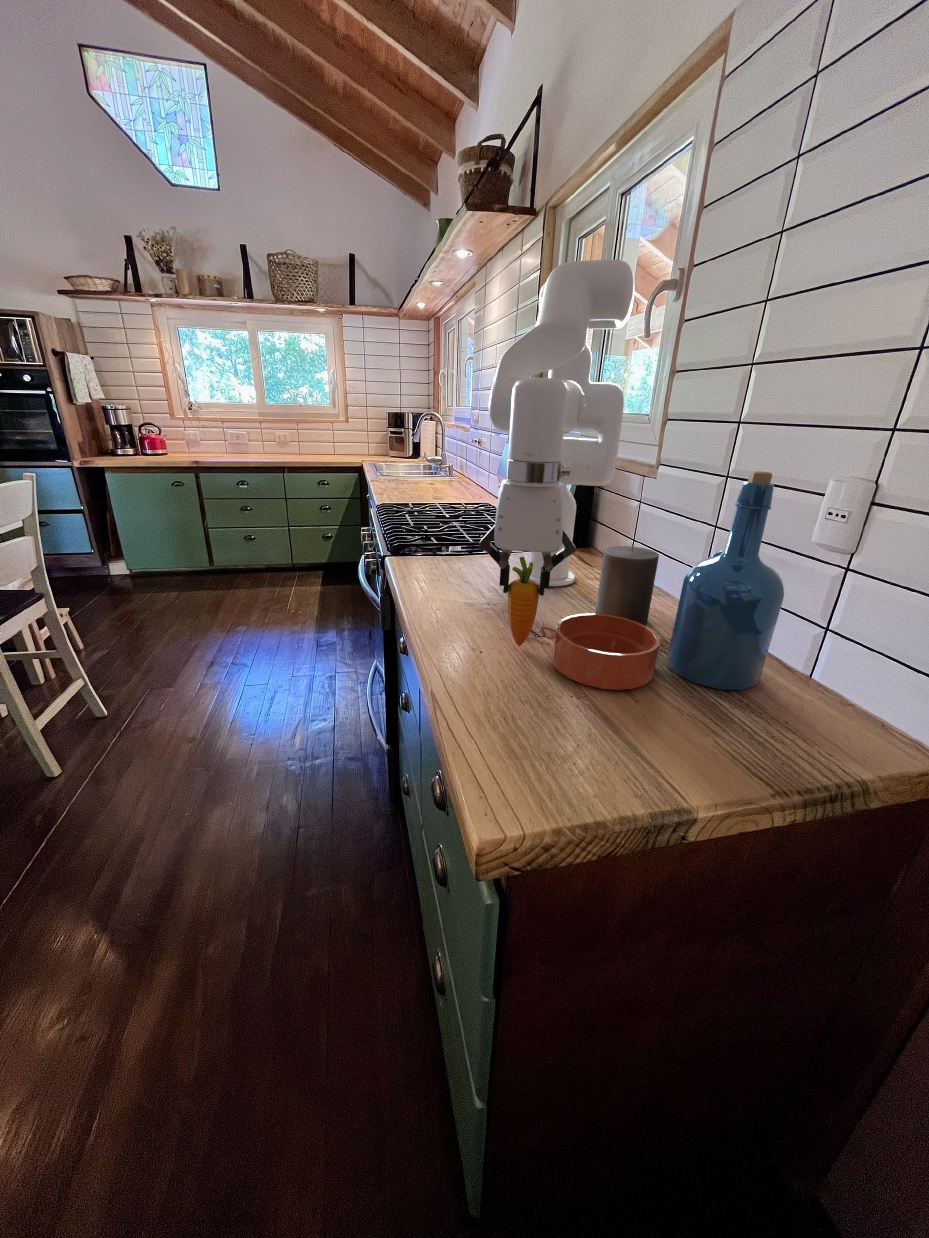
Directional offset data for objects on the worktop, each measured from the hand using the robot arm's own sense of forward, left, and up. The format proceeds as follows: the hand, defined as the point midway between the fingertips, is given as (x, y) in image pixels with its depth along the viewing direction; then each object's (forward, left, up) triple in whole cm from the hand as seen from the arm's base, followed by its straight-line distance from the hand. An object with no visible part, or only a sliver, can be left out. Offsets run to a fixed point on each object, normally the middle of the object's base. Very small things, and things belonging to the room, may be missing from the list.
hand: (523, 590), depth 79 cm
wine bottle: (+2, +30, -10) cm, 32 cm away
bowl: (+4, +13, -10) cm, 17 cm away
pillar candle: (-16, +19, -10) cm, 27 cm away
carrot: (0, 0, -10) cm, 10 cm away
